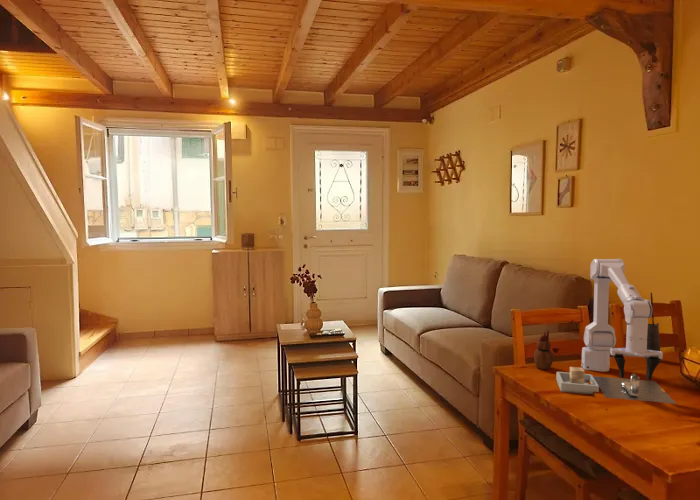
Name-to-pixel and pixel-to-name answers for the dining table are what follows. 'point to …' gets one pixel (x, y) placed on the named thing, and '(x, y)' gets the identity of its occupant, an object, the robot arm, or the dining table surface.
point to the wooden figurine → (543, 353)
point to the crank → (632, 385)
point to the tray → (576, 388)
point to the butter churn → (653, 334)
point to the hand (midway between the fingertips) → (635, 378)
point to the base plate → (615, 390)
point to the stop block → (576, 375)
